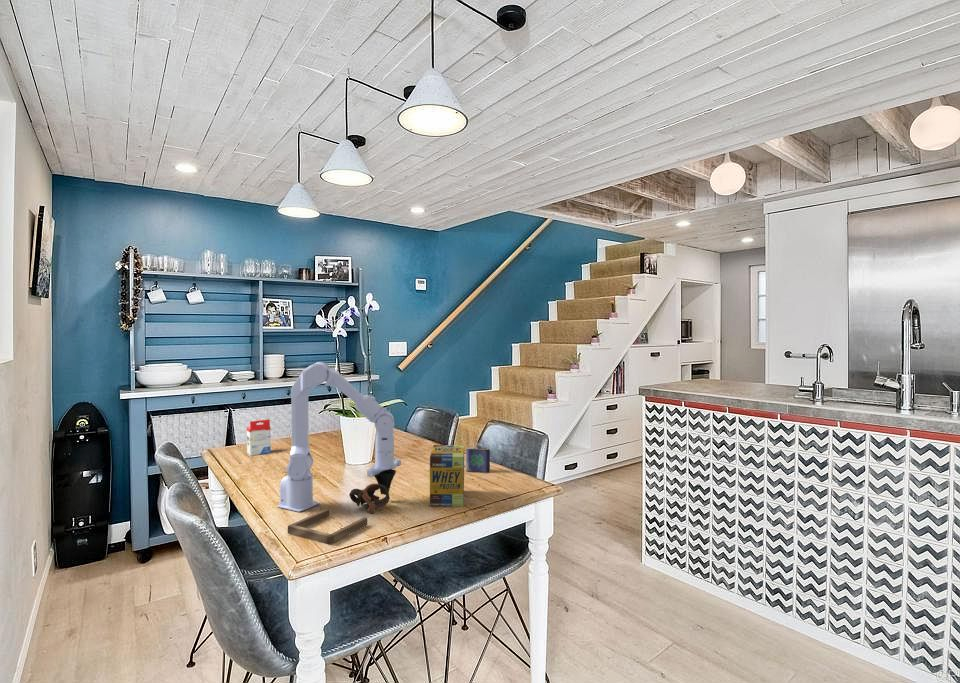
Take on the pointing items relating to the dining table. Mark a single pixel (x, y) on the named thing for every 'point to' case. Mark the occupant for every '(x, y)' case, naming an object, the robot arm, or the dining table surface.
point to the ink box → (258, 438)
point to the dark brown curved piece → (370, 497)
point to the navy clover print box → (478, 459)
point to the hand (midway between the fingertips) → (384, 493)
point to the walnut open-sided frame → (304, 532)
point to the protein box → (447, 475)
